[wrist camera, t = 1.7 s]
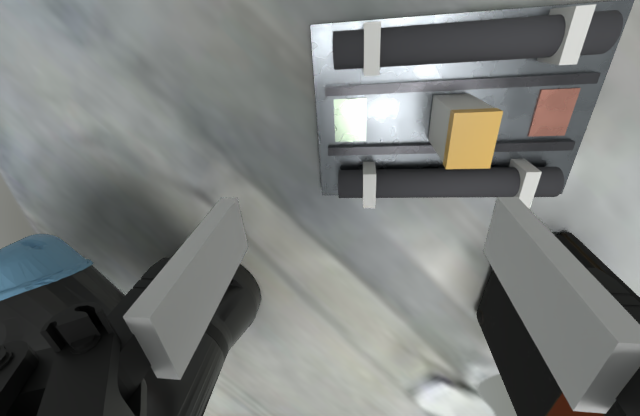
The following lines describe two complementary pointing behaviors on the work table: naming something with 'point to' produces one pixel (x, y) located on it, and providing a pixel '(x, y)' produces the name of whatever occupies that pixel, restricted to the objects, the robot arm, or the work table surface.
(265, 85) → the work table surface
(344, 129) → the panel
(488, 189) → the pair of dark rods
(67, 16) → the work table surface
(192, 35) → the work table surface
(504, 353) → the voltmeter
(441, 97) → the yellow and grey block
